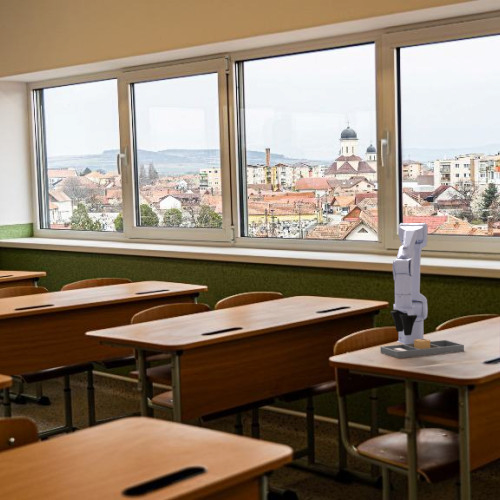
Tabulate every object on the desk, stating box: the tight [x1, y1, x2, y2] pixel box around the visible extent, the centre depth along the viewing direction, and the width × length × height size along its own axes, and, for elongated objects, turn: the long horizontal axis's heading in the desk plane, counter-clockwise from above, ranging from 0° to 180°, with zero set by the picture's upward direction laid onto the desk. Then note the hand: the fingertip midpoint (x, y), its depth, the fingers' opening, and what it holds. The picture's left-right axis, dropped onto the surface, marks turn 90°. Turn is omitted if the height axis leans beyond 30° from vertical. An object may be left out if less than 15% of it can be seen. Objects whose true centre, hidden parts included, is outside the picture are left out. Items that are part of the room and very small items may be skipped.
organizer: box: [380, 339, 465, 359], centre depth 315 cm, size 11×26×2 cm, turn 112°
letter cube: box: [414, 338, 431, 349], centre depth 315 cm, size 4×4×4 cm
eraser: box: [394, 348, 408, 352], centre depth 312 cm, size 5×2×2 cm, turn 22°
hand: (403, 333), depth 312 cm, fingers open, 7 cm apart
